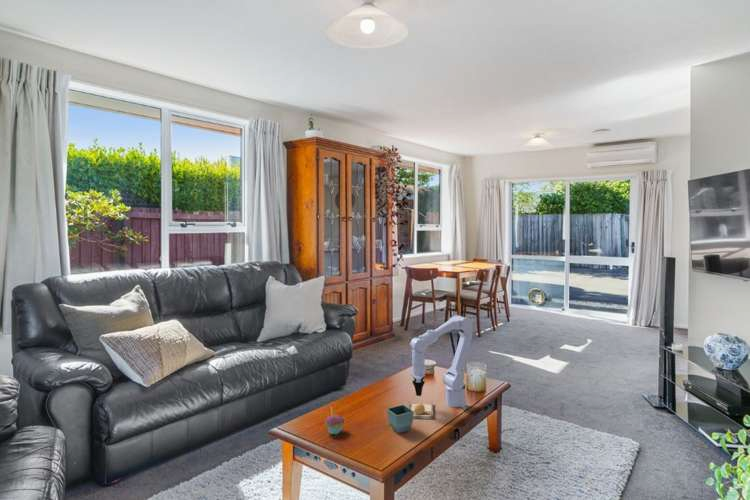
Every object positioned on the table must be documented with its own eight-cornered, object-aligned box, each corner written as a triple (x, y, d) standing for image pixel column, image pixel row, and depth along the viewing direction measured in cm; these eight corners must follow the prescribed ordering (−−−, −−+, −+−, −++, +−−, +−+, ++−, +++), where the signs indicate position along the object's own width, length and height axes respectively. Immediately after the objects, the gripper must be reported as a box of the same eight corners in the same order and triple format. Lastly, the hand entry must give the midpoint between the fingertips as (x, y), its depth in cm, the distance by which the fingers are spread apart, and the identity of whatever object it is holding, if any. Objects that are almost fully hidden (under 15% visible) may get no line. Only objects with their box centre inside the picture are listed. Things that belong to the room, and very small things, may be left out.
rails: (432, 406, 220) (432, 401, 220) (432, 421, 204) (432, 416, 204) (408, 406, 222) (407, 401, 222) (406, 420, 205) (406, 415, 205)
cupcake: (336, 438, 189) (335, 409, 188) (320, 433, 193) (319, 406, 193) (348, 430, 196) (347, 403, 196) (332, 426, 201) (332, 399, 200)
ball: (425, 415, 211) (424, 404, 214) (424, 413, 207) (424, 402, 209) (414, 415, 212) (414, 404, 214) (413, 413, 207) (413, 402, 210)
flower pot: (396, 436, 189) (396, 415, 189) (386, 428, 197) (386, 408, 197) (414, 432, 194) (414, 411, 193) (403, 424, 201) (403, 404, 201)
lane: (432, 406, 220) (432, 404, 220) (432, 421, 204) (432, 418, 204) (408, 406, 222) (407, 403, 222) (406, 420, 205) (406, 418, 205)
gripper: (410, 359, 220) (410, 387, 220) (409, 368, 205) (409, 398, 206) (424, 359, 219) (425, 387, 220) (425, 368, 205) (425, 398, 205)
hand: (418, 392), depth 213 cm, fingers open, 7 cm apart
